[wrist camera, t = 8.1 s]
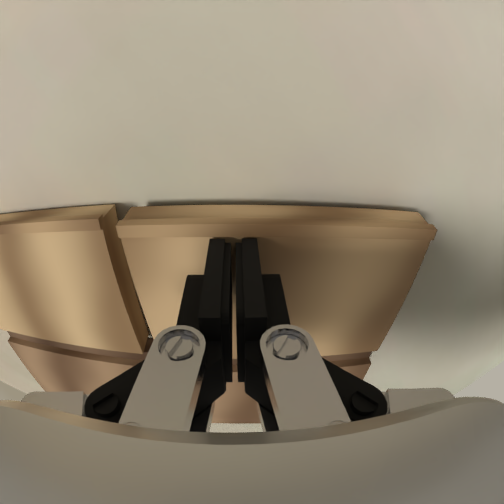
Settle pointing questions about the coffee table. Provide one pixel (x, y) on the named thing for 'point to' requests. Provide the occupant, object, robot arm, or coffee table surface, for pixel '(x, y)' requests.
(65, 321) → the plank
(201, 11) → the coffee table surface
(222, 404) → the floor plank
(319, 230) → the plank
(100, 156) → the coffee table surface
